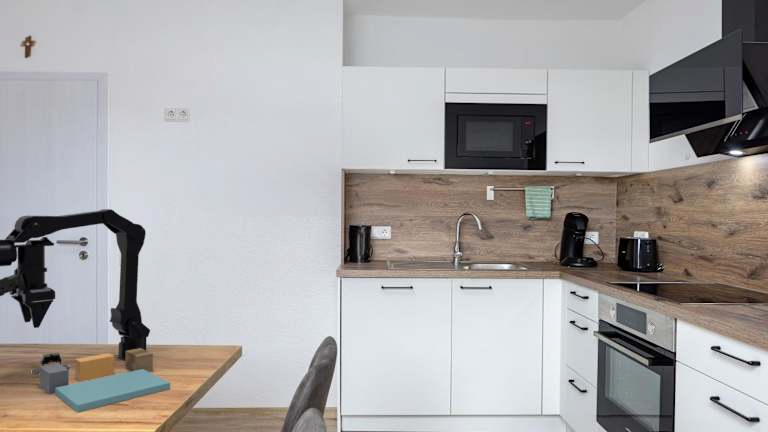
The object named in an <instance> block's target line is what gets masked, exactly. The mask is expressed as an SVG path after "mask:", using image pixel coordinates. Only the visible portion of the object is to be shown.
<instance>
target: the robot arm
mask: <svg viewBox="0 0 768 432" xmlns="http://www.w3.org/2000/svg"><path fill="white" fill-rule="evenodd" d="M101 224H102V225H104V226H105V227H106V228H107V229H108V230H109V231H110V232H111V233H113V234H115V238H116V244H117V247H118V249H119V252H120V270H119V271H120V272H119V274H120V275H119V294H118V295H119V297H118V298H119V300H118V303H117V305H116V307H115V308H114V307H111V308H110V314H111V315H110V319H109V322H110V323H111V325H112V328H113V329H115V330H116V331H117V332H118V335H119V336H120V341H119V343H118V355H117V356H118V358H119V359H122V360H124V361H125V360H126V351H128V350H133V349H138V348H141V349H144V350H146V351H147V337H149V335H150V333H151V329H150V328H149V327H148V326H146V325H145V324H144V323H143V320H142V313H141V309H140V307H139V305H138V301H137V300H138V280H139V278H138V276H139V258H140V257H139V255H140V253H141V250H142V248H143V246H144V244H145V238H146V229H145V228H144V227H143V225H141V224H139V223H134V222H132V221H131V220H129V219H127V218H126V217H124V216H121V214H119V213H117V212H116V211H115V210H114V209H111V208H109V209H108V208H107V209H105V208H102V209H99V210H94V211H87V212H80V213H79V212H78V213H71V214H70V213H69V214H64V215H57V216H56V215H24V216H23V215H22V216H19V218H18V219H17V220H16V221H15V222H14V228H13V230H12V231H11V232H10V233H9V234H8V235H7V236H6V237H5V239H0V267H10V266H12V264H13V263H15V262H16V261H17V267H16V268H15V269H14V270H13V273H14V274H12V275H9V276H5V277H3V278H0V297H3V296H4V295H5V294H9V295H10V297H11V298H12V299H14V300H15V301H16V302H18V305H19V306H20V307H19V308H20V310H21V314H22V318H23V322H25V323H30V322H31V321H32V322H31V323H32V327H33V328H34V329H36V328H37V329H38V328H40V326H41V324H42V322H43V320H44V319H45V316H46V315H47V312H48V310H49V309H50V307H51V305H52V303H53V302H54V300H55V299H56V291H55V290H54V289H53V288H51V287H48V283H46V273H47V272H48V268H47V267H45V266H46V264H45V263H46V261H45V259H46V258H45V254H46V252H45V251H46V248H45V247H53V246H54V245H55V243H54V242H52V240H50V239H49V238H48V236H49V235H51V234H53V233H56V232H59V231H62V230H68V229H75V228H81V227H87V226H88V227H89V226H95V225H101ZM40 238H41V239H40ZM18 243H19V244H18ZM20 243H21V244H20ZM23 243H25V244H23Z"/></svg>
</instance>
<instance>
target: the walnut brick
mask: <svg viewBox="0 0 768 432" xmlns="http://www.w3.org/2000/svg"><path fill="white" fill-rule="evenodd" d="M124 362H125V367H124V368H125V370H127V371H128V372H131V371H136V370H140V369H144V370H146V371H148V372H150V373H151V372H154V368H153V367H154V353H153V352H151V351H149V350H147V349H146V350H144V349H141V348H138V349H133V350H128V351H126V360H124Z"/></svg>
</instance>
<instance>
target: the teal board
mask: <svg viewBox="0 0 768 432" xmlns="http://www.w3.org/2000/svg"><path fill="white" fill-rule="evenodd" d="M170 389H171V382H170V381H167V380H165V379H164V378H162V377H160V376H158V375H156V374H154V373H151V372H148V371H146V370H144V369H140V370H136V371H127V372H121V373H118V374H117V373H116V374H113V375H108V376H103V377H99V378H94V379H89V380H84V381H79V382H76V383H72V384H68V385H66V386H61V387H56V388H55V393H54V394H55V395H56V396H57V397H58V398H59V399H60V400H62V401H63V402H65V404H67V405H68V406H69V407H70V408H71V409H73V410H74V411H75V412H77V413H80V412H83V411H89V410H92V409H95V408H100V407H103V406H108V405H112V404H116V403H119V402H124V401H127V400H132V399H136V398H139V397H143V396H149V395H151V394H155V393H159V392H163V391H167V390H170Z"/></svg>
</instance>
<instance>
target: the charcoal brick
mask: <svg viewBox="0 0 768 432" xmlns="http://www.w3.org/2000/svg"><path fill="white" fill-rule="evenodd" d="M62 365H63V364H62V363H61V364H59V363H58V362H56V363H52V364H45V365H44V366H42V365H41V366H39V368H40V374H39V383H38V384H39V385H38V386H39V387H40V389H42V390H43V391H44V392H45V393H47V394H48V395H52V394H55V388H56V387H61V386H66V385H69V374H70V373H69V372H70V371H69V370H70V369H67V368H65V367H64V366H62Z"/></svg>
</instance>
